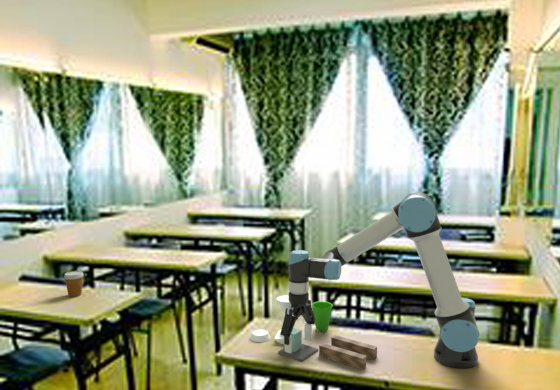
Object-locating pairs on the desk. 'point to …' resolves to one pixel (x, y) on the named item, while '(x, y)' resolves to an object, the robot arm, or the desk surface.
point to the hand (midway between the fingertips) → (298, 345)
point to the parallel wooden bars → (348, 351)
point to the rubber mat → (300, 352)
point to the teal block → (296, 339)
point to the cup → (322, 315)
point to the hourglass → (263, 334)
